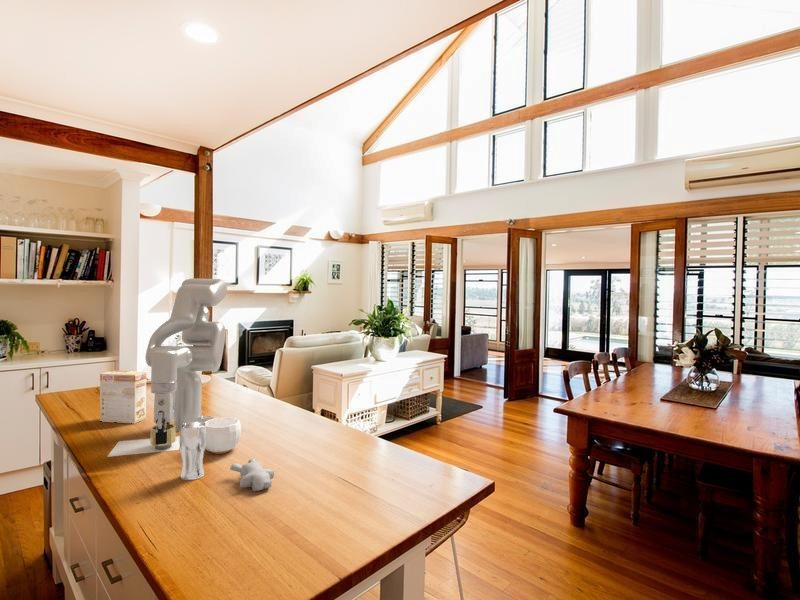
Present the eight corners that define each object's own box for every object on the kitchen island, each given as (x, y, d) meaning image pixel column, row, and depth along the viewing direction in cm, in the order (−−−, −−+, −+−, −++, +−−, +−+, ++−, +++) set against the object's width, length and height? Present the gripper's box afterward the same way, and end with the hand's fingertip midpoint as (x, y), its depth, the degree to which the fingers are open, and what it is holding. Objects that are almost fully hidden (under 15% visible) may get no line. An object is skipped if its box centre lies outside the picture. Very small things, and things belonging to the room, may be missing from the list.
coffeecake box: (146, 418, 174) (147, 371, 174) (134, 424, 167) (134, 374, 167) (112, 416, 176) (113, 369, 175) (98, 422, 169) (99, 373, 168)
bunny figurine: (248, 482, 112) (226, 458, 123) (246, 501, 112) (225, 475, 123) (281, 473, 118) (258, 450, 129) (280, 490, 119) (257, 466, 130)
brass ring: (176, 437, 147) (176, 423, 147) (173, 444, 140) (173, 429, 140) (152, 439, 144) (153, 424, 144) (148, 446, 137) (148, 431, 137)
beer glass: (179, 472, 126) (180, 422, 125) (205, 469, 128) (206, 419, 128) (177, 482, 119) (178, 429, 119) (205, 479, 122) (206, 427, 122)
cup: (192, 454, 139) (192, 425, 139) (220, 442, 151) (220, 414, 151) (222, 460, 135) (222, 430, 135) (248, 447, 147) (248, 419, 146)
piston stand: (183, 438, 153) (183, 421, 153) (178, 452, 140) (178, 434, 140) (118, 444, 146) (118, 426, 146) (106, 459, 133) (107, 440, 133)
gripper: (173, 392, 135) (172, 447, 135) (180, 381, 151) (179, 430, 151) (145, 393, 132) (144, 450, 133) (156, 382, 149) (155, 432, 149)
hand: (163, 439), depth 142 cm, fingers closed on brass ring, 7 cm apart
